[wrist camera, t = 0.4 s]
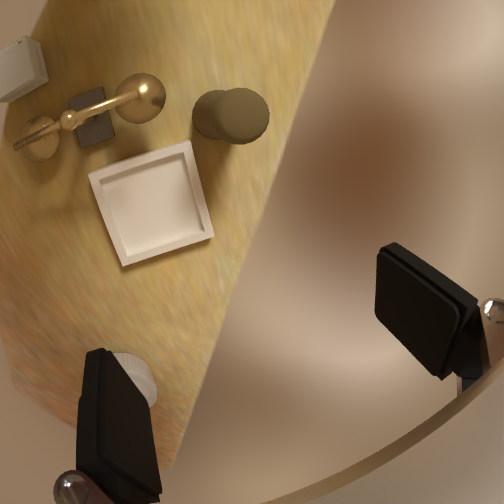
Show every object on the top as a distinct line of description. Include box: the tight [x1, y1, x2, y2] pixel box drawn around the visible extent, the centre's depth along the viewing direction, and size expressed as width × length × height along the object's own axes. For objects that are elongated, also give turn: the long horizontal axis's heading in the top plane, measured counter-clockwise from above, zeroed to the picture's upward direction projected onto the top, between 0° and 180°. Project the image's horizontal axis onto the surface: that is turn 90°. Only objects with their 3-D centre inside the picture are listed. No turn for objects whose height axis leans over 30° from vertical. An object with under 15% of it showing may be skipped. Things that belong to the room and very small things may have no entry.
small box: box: [0, 36, 49, 102], centre depth 21 cm, size 6×6×5 cm
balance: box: [13, 73, 166, 162], centre depth 23 cm, size 6×17×12 cm, turn 102°
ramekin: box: [113, 352, 158, 408], centre depth 43 cm, size 11×11×5 cm
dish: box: [88, 139, 215, 266], centre depth 35 cm, size 12×12×2 cm
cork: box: [192, 88, 270, 144], centre depth 28 cm, size 6×6×11 cm
